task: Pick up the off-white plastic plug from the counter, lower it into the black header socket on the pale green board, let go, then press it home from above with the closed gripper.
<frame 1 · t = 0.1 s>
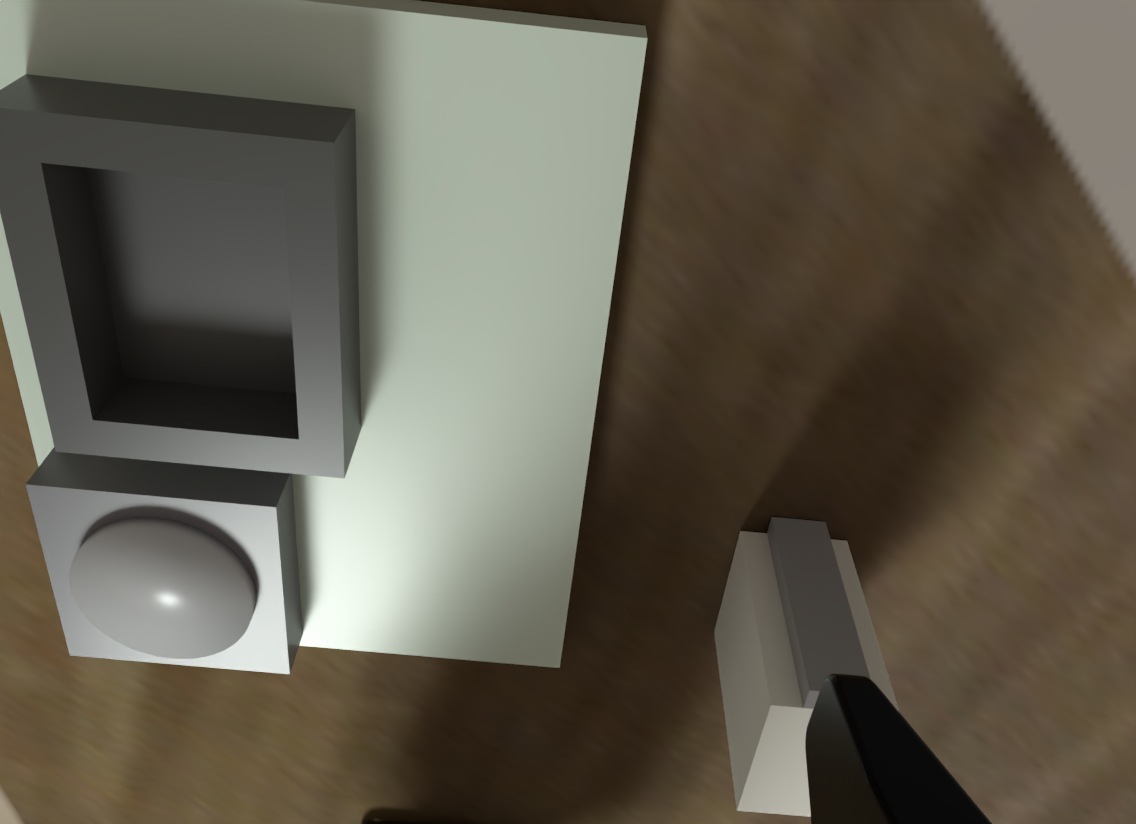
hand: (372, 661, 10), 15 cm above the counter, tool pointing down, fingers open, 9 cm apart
board: (316, 368, 25), on the counter
plug: (778, 588, 29), on the counter
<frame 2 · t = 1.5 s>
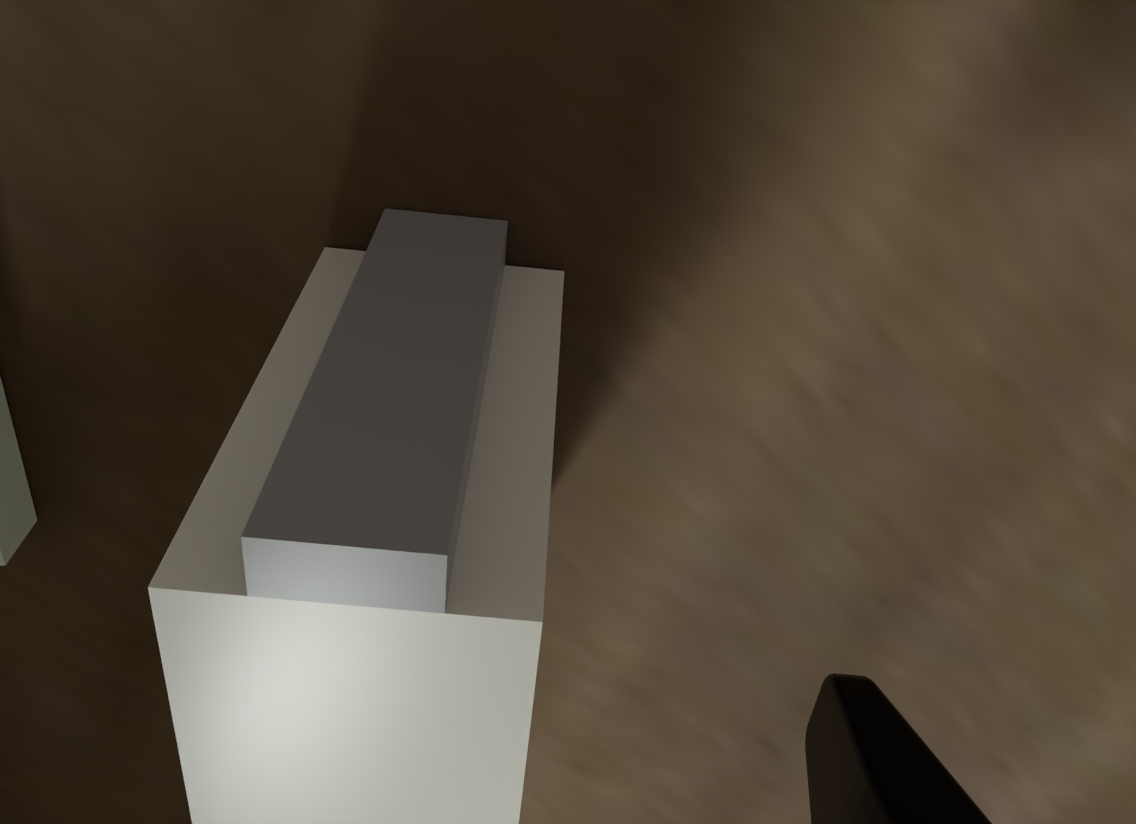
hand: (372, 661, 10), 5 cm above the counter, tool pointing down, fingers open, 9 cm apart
plug: (440, 392, 14), on the counter
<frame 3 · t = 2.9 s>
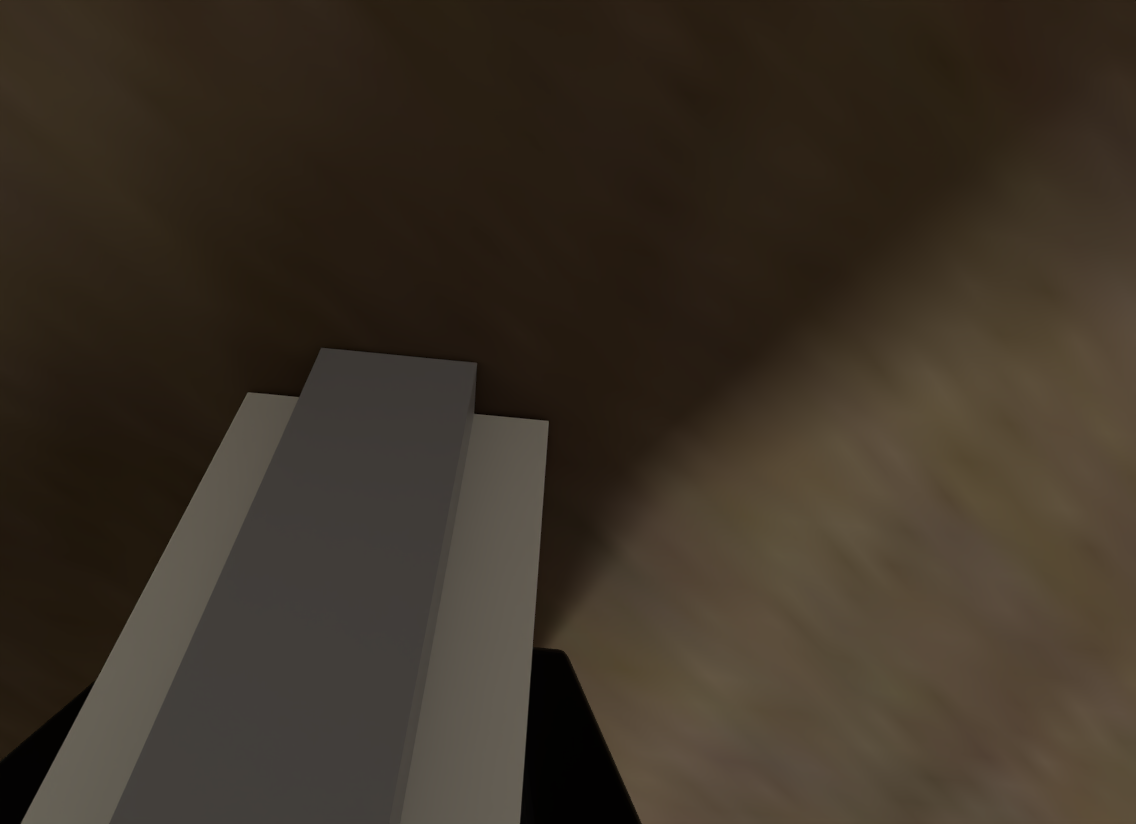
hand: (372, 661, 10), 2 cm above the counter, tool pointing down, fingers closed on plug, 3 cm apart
plug: (398, 555, 11), on the counter, touching gripper
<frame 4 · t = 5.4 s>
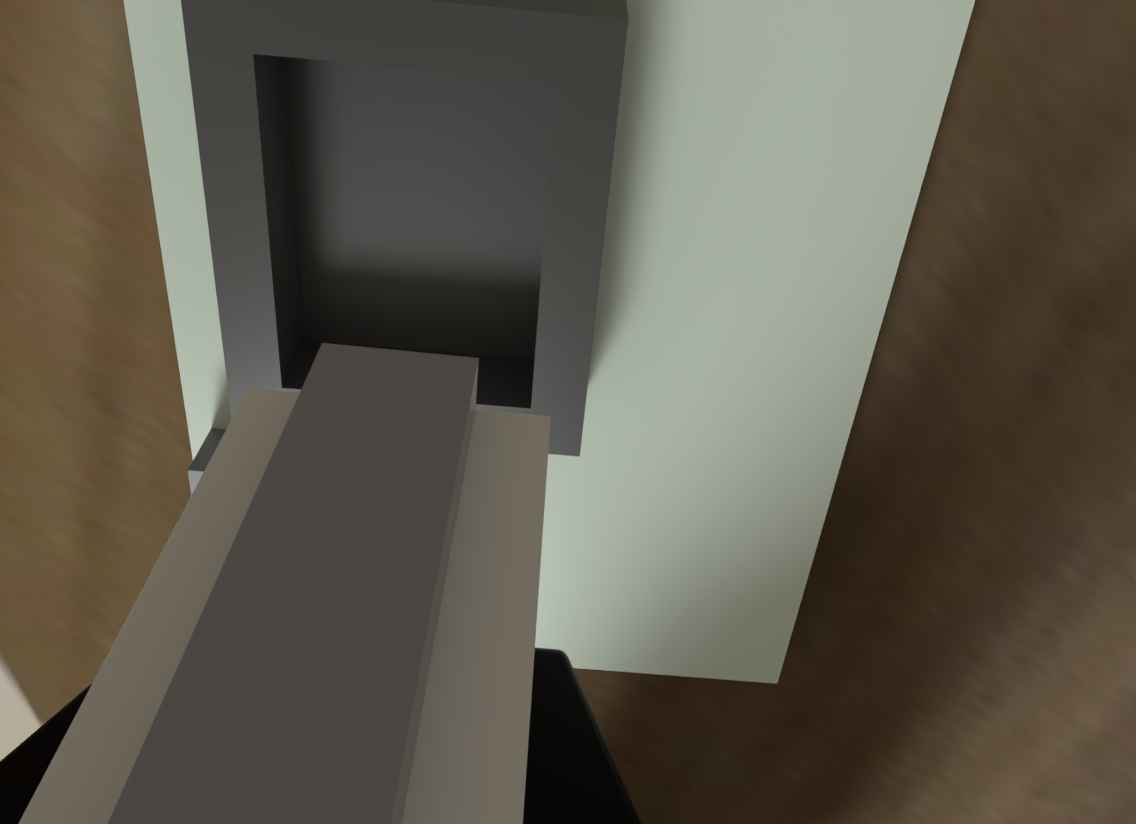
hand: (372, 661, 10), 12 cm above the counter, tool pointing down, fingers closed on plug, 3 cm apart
board: (524, 329, 21), on the counter
plug: (399, 552, 11), point 10 cm above the counter, touching gripper
when the fingers open (4 cm above the counter, at t = 7.6 s): plug drops 1 cm, resting on board.
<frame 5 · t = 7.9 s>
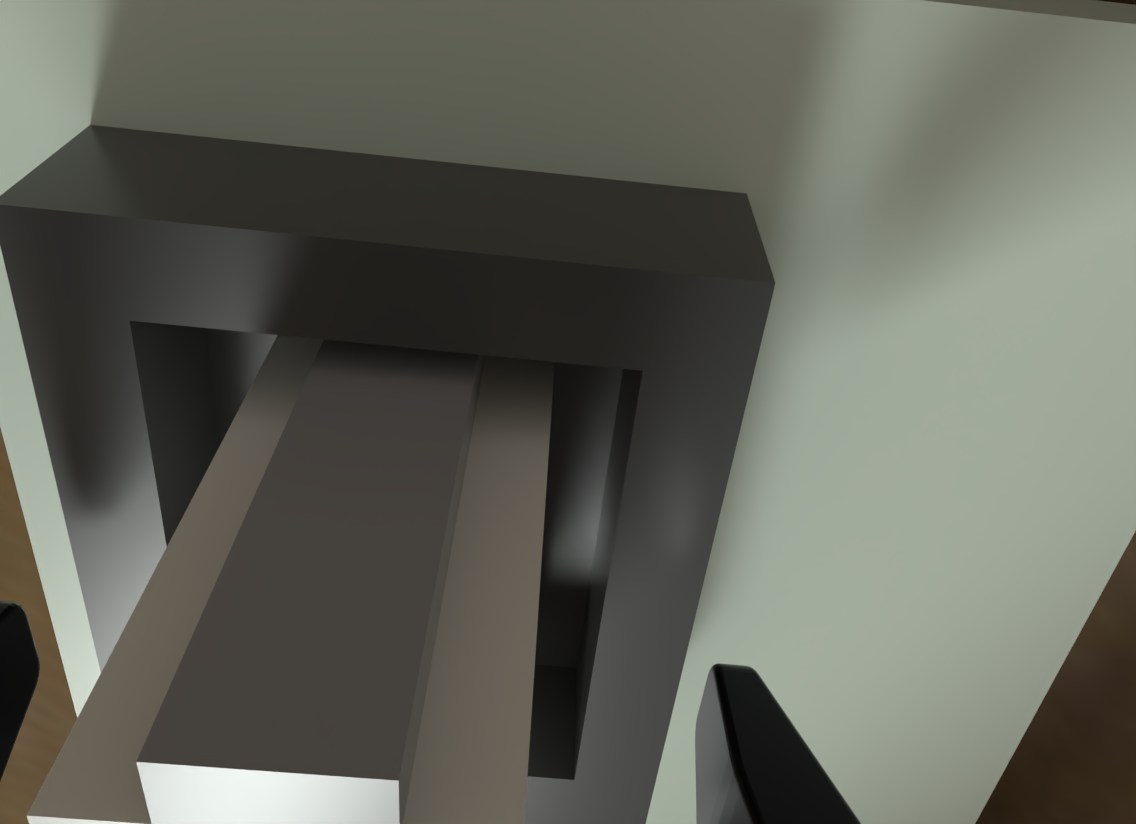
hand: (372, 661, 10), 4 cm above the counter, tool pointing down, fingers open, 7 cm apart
board: (557, 603, 15), on the counter
plug: (419, 481, 12), point 1 cm above the counter, touching board
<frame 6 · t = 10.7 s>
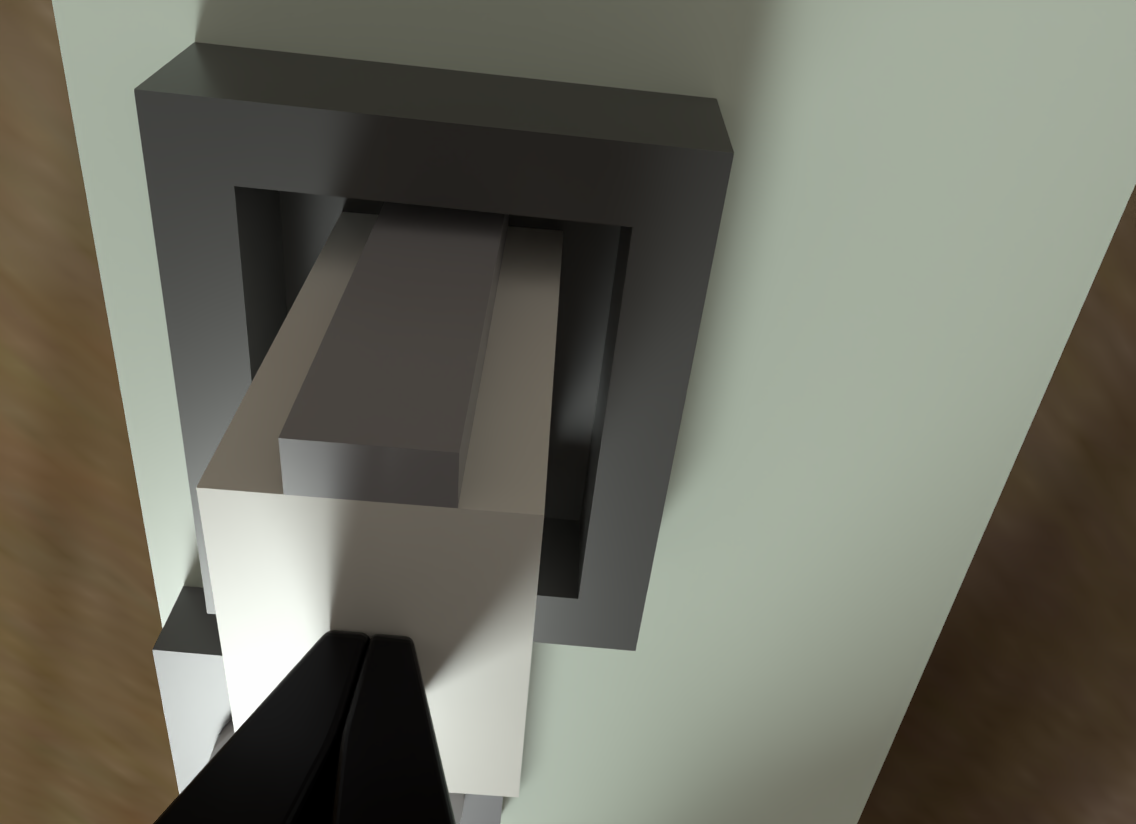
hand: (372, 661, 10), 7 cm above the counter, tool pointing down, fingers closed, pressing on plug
board: (563, 474, 18), on the counter
plug: (450, 348, 15), point 1 cm above the counter, touching board, gripper
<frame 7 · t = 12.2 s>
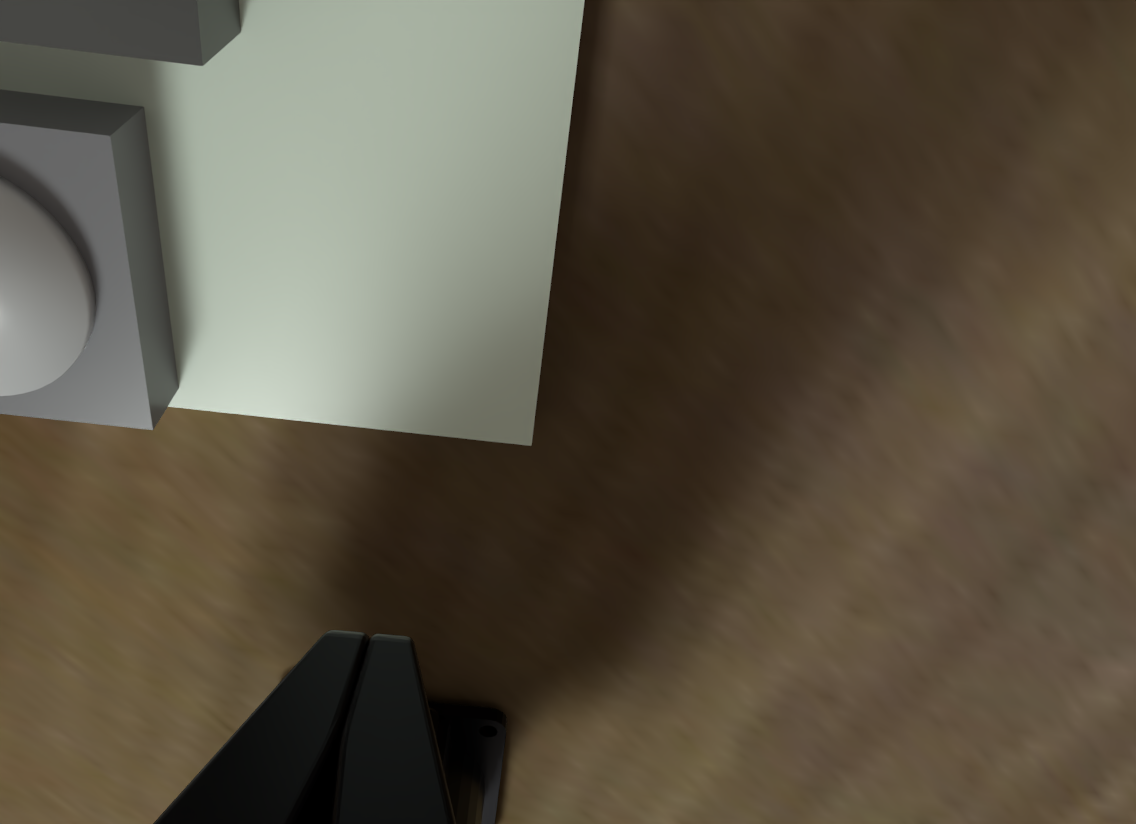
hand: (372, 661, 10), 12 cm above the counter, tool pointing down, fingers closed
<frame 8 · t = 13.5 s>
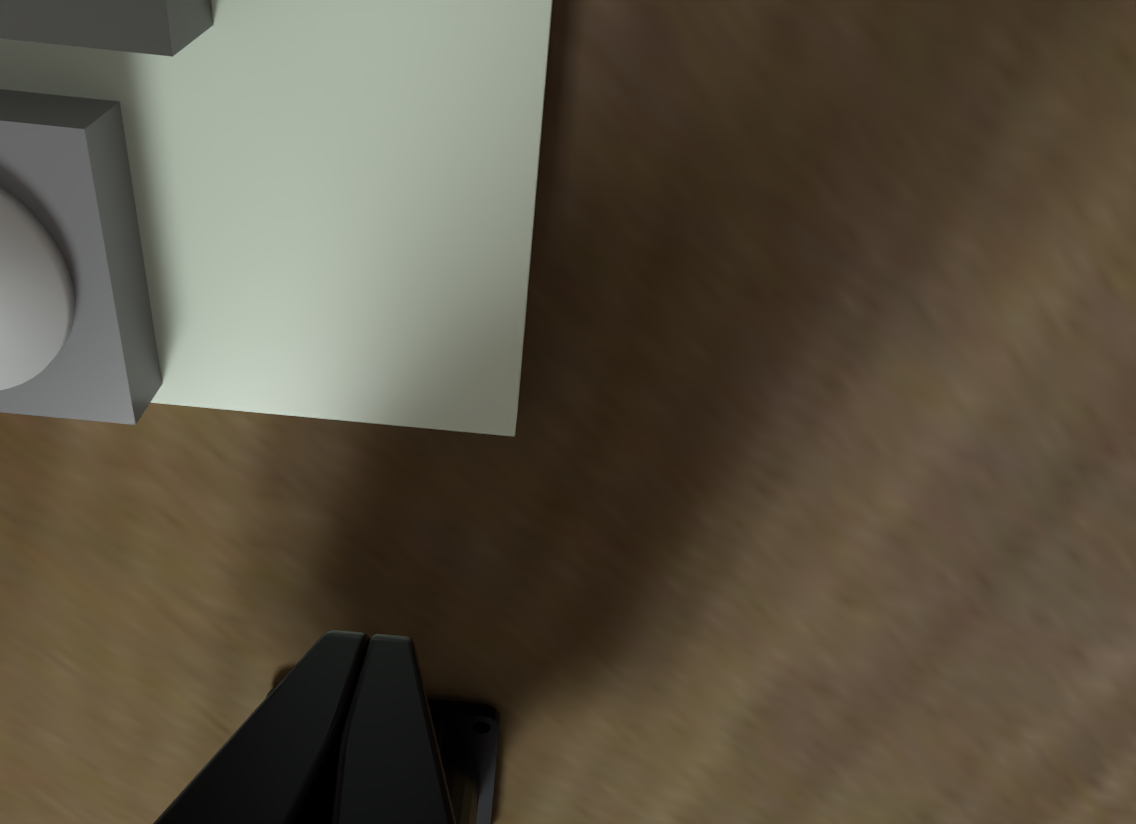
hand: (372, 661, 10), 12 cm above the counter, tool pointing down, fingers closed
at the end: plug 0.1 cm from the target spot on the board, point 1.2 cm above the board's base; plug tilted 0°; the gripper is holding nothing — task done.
